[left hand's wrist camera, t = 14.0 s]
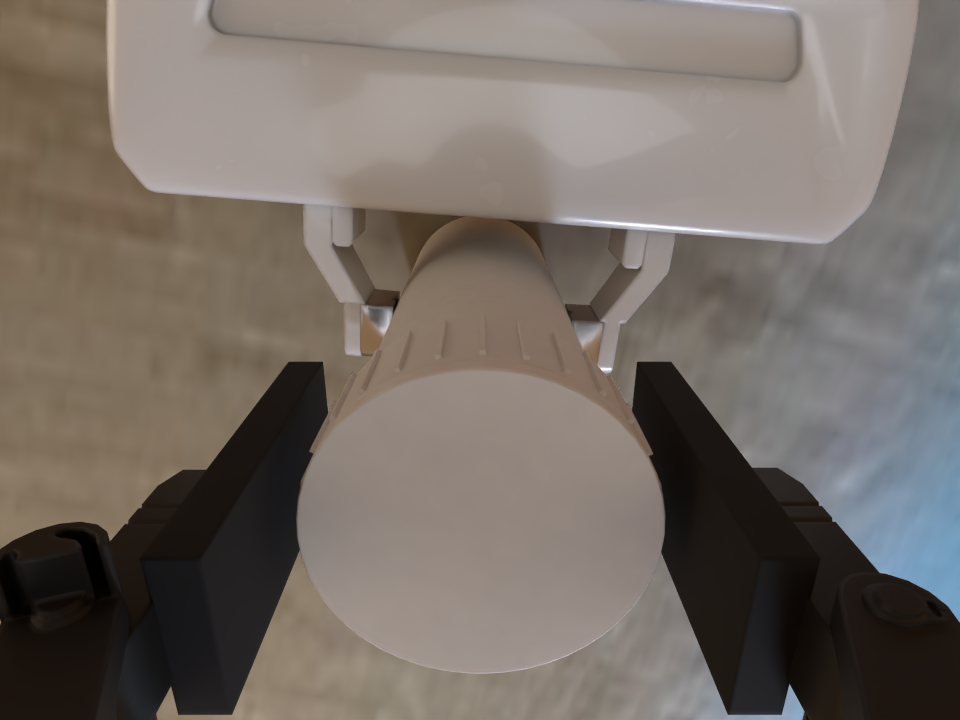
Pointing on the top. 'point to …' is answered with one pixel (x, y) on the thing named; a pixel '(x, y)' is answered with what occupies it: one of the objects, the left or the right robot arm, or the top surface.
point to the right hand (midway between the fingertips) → (479, 358)
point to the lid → (480, 499)
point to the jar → (480, 281)
